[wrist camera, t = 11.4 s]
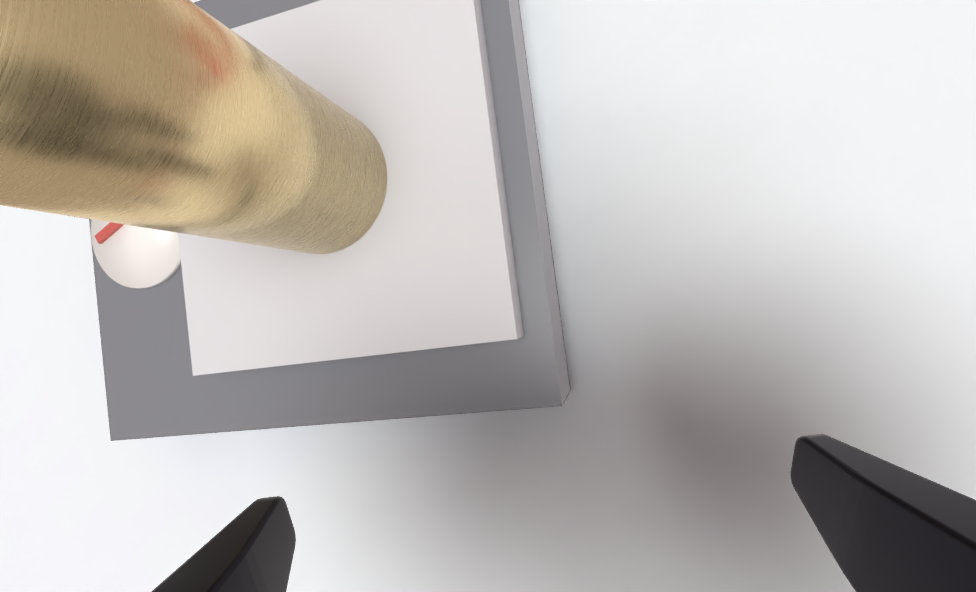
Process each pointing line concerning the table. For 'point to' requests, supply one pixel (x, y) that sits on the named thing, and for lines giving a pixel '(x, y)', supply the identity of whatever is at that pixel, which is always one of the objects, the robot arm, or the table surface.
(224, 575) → the robot arm
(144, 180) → the brass weight
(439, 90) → the scale
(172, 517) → the table surface
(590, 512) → the table surface
